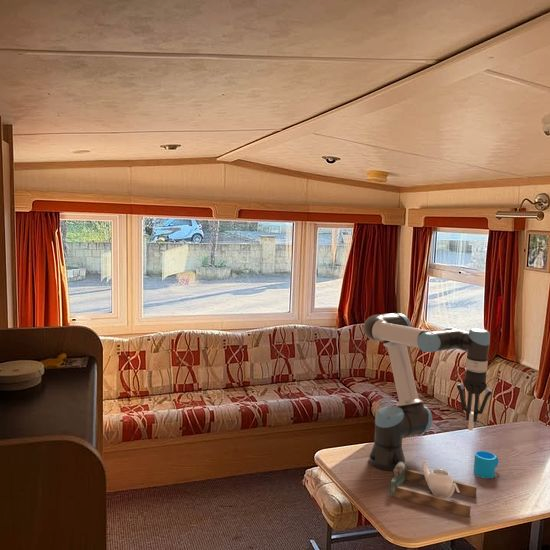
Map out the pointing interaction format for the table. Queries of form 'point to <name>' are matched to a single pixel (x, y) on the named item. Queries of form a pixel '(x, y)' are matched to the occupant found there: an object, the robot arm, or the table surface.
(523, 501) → the table surface
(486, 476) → the mug
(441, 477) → the teapot
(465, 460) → the table surface
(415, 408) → the robot arm
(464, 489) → the bay
